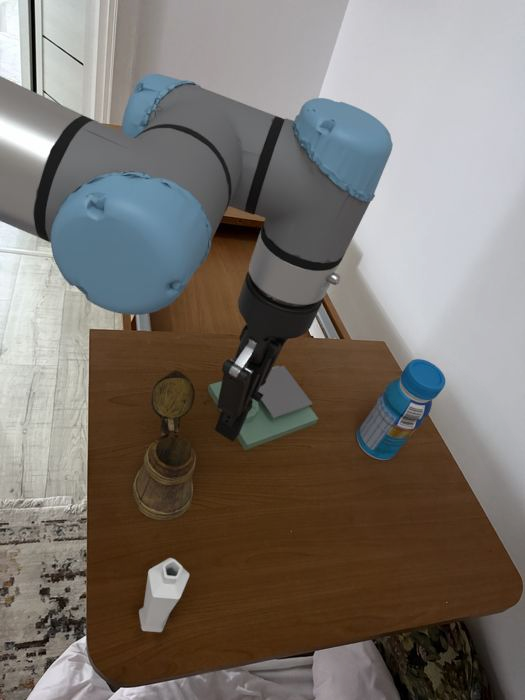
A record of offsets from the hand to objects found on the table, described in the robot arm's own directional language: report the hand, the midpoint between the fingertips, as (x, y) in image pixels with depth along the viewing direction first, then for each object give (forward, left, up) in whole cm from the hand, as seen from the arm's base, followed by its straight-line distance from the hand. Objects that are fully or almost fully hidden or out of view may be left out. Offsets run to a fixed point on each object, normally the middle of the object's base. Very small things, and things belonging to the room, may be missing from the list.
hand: (226, 432), depth 62 cm
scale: (+21, +13, -20) cm, 32 cm away
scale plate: (+23, +13, -17) cm, 32 cm away
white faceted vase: (-11, -11, -20) cm, 26 cm away
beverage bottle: (+38, -2, -20) cm, 43 cm away
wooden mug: (-3, +7, -20) cm, 22 cm away
